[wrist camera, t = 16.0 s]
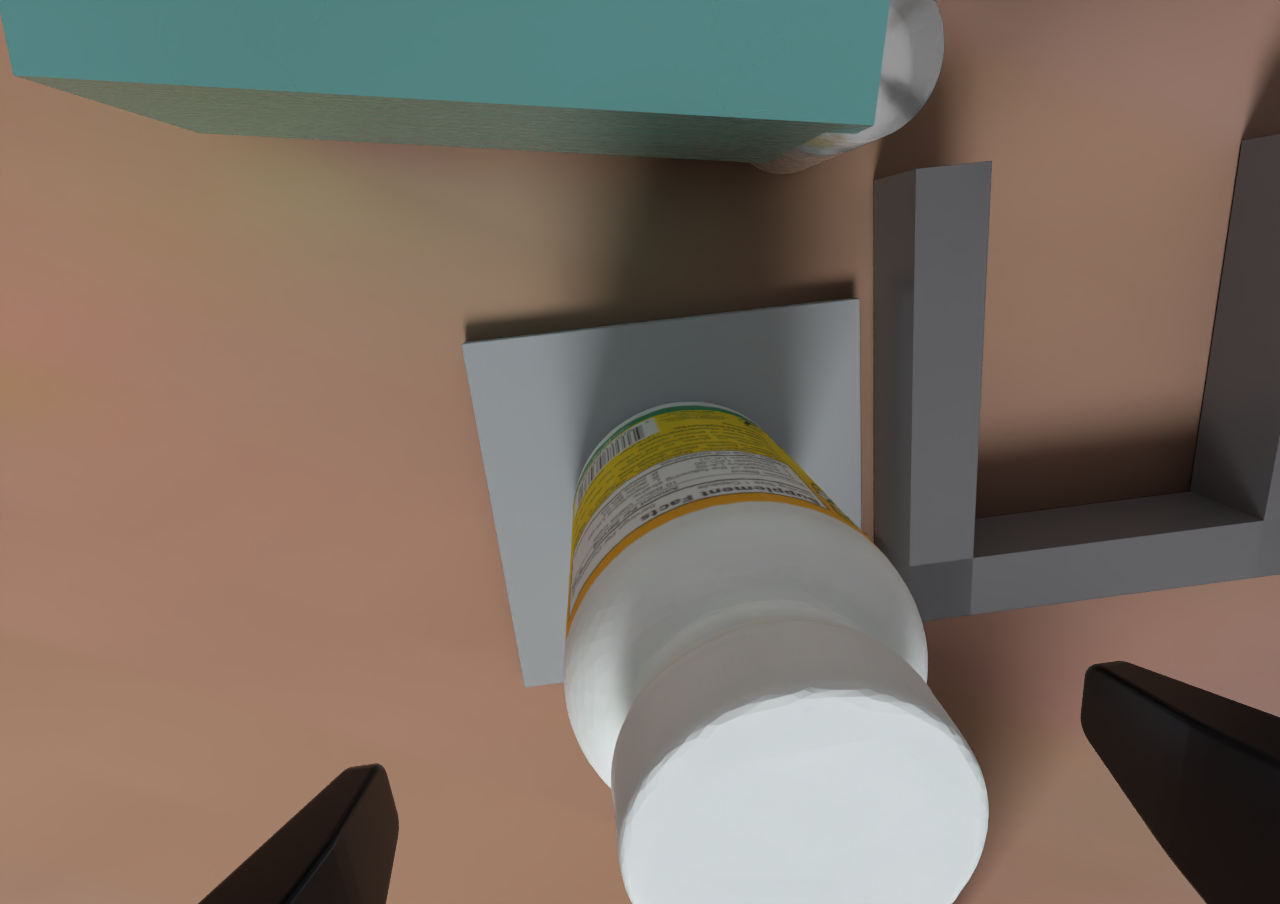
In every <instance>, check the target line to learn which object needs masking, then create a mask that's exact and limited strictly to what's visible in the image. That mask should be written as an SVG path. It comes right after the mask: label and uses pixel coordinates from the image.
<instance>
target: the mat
mask: <svg viewBox="0 0 1280 904" xmlns="http://www.w3.org/2000/svg"><path fill="white" fill-rule="evenodd" d="M462 349H463V354H464V359H465V365H466V370H467V376H468V381H469V387H470V392H471V397H472V403H473V408H474V414H475V419H476V424H477V430H478V435H479V441H480V446H481V452H482V457H483V462H484V468H485V473H486V479H487V484H488V489H489V495H490V500H491V506H492V511H493V517H494V522H495V527H496V533H497V538H498V544H499V549H500V555H501V560H502V565H503V571H504V576H505V582H506V587H507V592H508V598H509V603H510V609H511V614H512V620H513V625H514V630H515V636H516V641H517V647H518V652H519V657H520V663H521V668H522V674H523V679H524V685H525V687H532V686H539V685H547V684H554V683H562V682H564V675H563V669H564V651H565V634H566V619H567V606H568V590H569V575H570V557H571V539H572V523H573V511H572V509H573V504H574V496H575V491H576V487H577V483H578V480H579V477H580V475H581V472H582V470H583V468H584V466H585V464H586V462H587V460H588V458H589V457H590V455H591V454H592V452H593V451H594V449H595V448H596V447H597V445H598V444H599V443H600V442H601V441H602V440H603V439H604V438H605V437H606V436H607V435H608V434H609V433H610V432H611V431H612V430H613V429H614V428H616V427H617V426H618V425H620V424H621V423H623V422H624V421H626V420H627V419H629V418H631V417H632V416H634V415H636V414H638V413H641V412H643V411H645V410H647V409H650V408H653V407H656V406H660V405H663V404H668V403H675V402H704V403H711V404H716V405H720V406H723V407H726V408H729V409H732V410H734V411H736V412H739V413H741V414H742V415H744V416H746V417H747V418H749V419H750V420H752V421H753V422H754V423H756V424H757V425H758V426H759V427H760V428H761V429H763V430H764V431H765V432H766V433H767V434H768V435H769V436H770V437H771V438H772V439H773V440H774V441H775V442H776V443H777V444H778V445H779V446H780V447H781V448H782V449H783V450H784V451H785V452H787V454H788V455H789V456H790V457H791V458H792V459H793V460H794V461H795V462H796V463H797V464H798V465H799V466H800V467H801V468H802V469H803V470H804V471H805V472H806V474H807V475H808V476H809V477H810V478H811V479H812V480H813V481H814V482H815V483H816V484H817V485H818V486H819V487H820V488H821V489H822V490H823V491H824V492H825V494H826V495H827V496H828V497H829V498H830V499H831V500H832V501H833V502H834V503H835V504H836V505H837V506H838V507H839V508H840V509H841V510H842V511H843V512H844V513H845V514H846V515H847V516H848V517H849V518H850V520H851V521H852V522H853V523H855V524H856V525H857V526H858V527H859V528H860V529H861V445H860V307H859V299H857V298H847V299H838V300H829V301H820V302H812V303H803V304H794V305H785V306H777V307H768V308H759V309H750V310H742V311H733V312H724V313H715V314H706V315H698V316H689V317H680V318H671V319H663V320H654V321H645V322H636V323H628V324H619V325H610V326H601V327H593V328H584V329H575V330H566V331H558V332H549V333H540V334H531V335H523V336H514V337H505V338H496V339H488V340H479V341H470V342H464V343H463V344H462Z"/></svg>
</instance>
